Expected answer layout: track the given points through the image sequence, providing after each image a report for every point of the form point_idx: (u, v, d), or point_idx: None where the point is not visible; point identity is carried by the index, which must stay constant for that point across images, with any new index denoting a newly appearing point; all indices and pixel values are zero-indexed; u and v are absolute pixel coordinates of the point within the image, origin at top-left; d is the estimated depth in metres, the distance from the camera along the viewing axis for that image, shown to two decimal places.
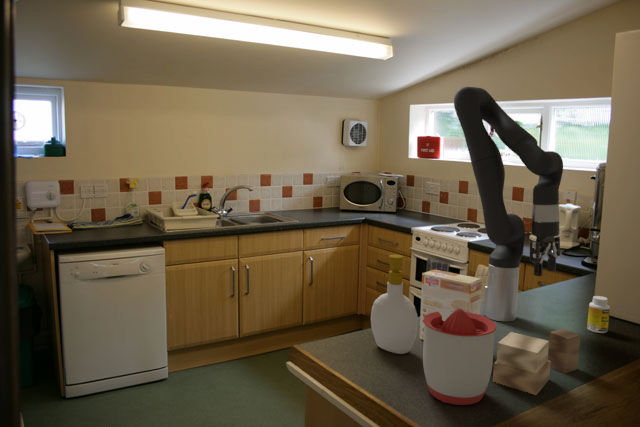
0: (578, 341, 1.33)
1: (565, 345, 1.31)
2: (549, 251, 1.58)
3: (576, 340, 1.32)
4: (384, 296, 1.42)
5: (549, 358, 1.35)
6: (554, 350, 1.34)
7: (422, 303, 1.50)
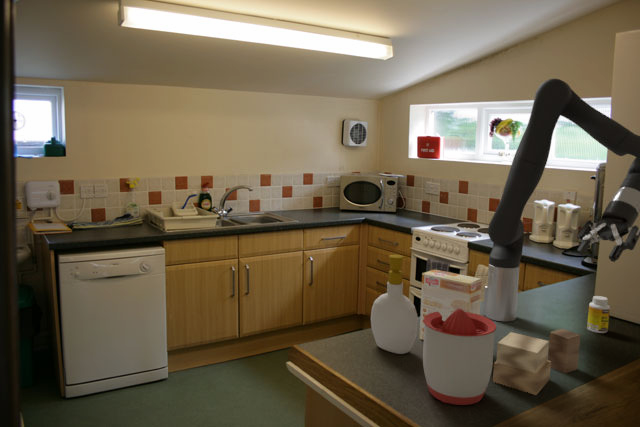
0: (578, 341, 1.33)
1: (565, 345, 1.31)
2: None
3: (576, 340, 1.32)
4: (384, 296, 1.42)
5: (549, 358, 1.35)
6: (554, 350, 1.34)
7: (422, 303, 1.50)
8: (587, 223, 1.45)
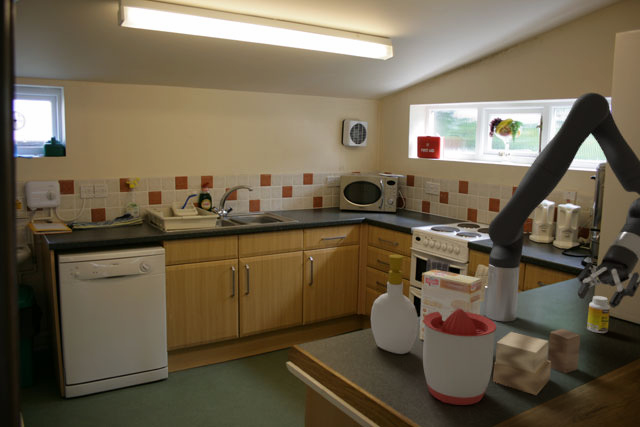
0: (578, 341, 1.33)
1: (565, 345, 1.31)
2: None
3: (576, 340, 1.32)
4: (384, 296, 1.42)
5: (549, 358, 1.35)
6: (554, 350, 1.34)
7: (422, 303, 1.50)
8: (587, 265, 1.46)
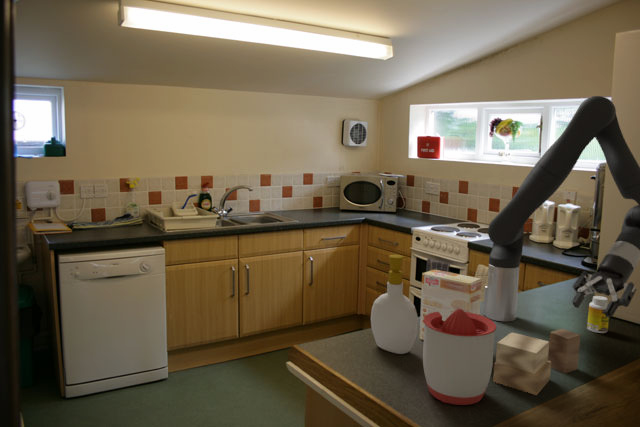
0: (578, 341, 1.33)
1: (565, 345, 1.31)
2: None
3: (576, 340, 1.32)
4: (384, 296, 1.42)
5: (549, 358, 1.35)
6: (554, 350, 1.34)
7: (422, 303, 1.50)
8: (582, 274, 1.45)
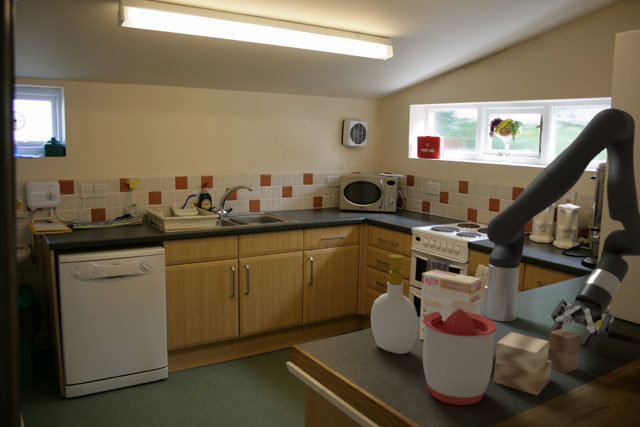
0: (578, 341, 1.33)
1: (565, 345, 1.31)
2: None
3: (576, 340, 1.32)
4: (384, 296, 1.42)
5: (549, 358, 1.35)
6: (554, 350, 1.34)
7: (422, 303, 1.50)
8: (561, 303, 1.42)
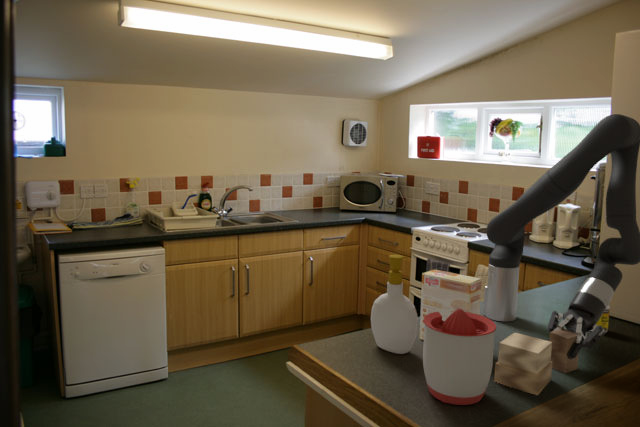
0: None
1: (565, 345, 1.31)
2: None
3: None
4: (384, 296, 1.42)
5: None
6: (554, 350, 1.34)
7: (422, 303, 1.50)
8: (553, 314, 1.40)
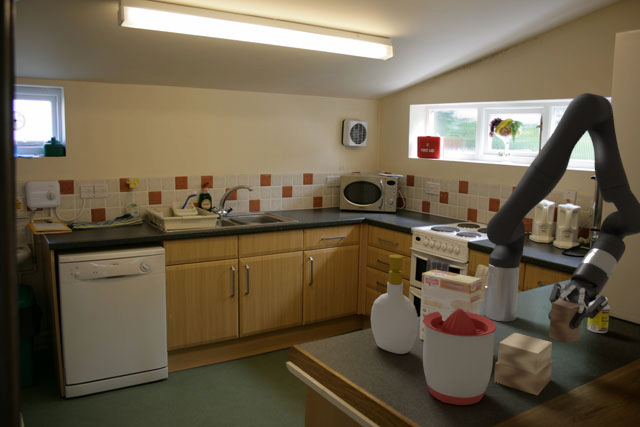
0: None
1: (567, 315, 1.30)
2: None
3: None
4: (384, 296, 1.42)
5: (551, 329, 1.34)
6: (556, 321, 1.33)
7: (422, 303, 1.50)
8: (555, 285, 1.39)
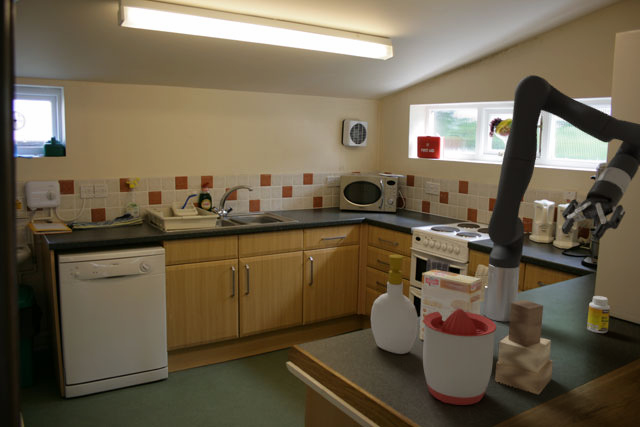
0: (541, 312, 1.24)
1: (526, 315, 1.23)
2: None
3: (538, 311, 1.24)
4: (384, 296, 1.42)
5: (510, 331, 1.27)
6: (515, 322, 1.25)
7: (422, 303, 1.50)
8: (572, 202, 1.45)
